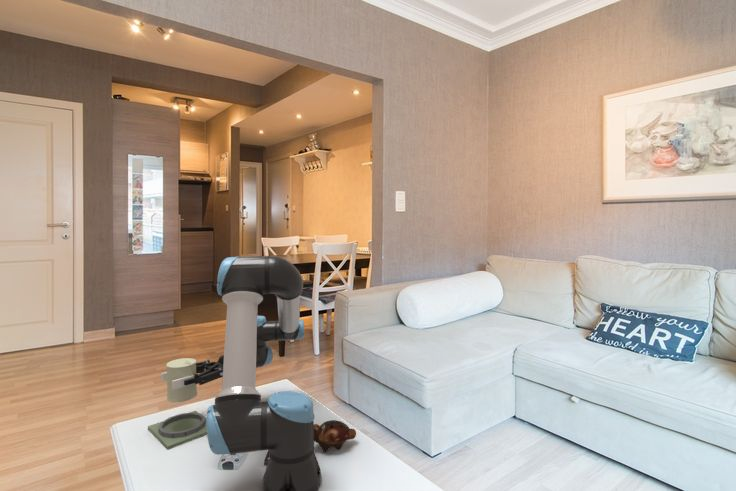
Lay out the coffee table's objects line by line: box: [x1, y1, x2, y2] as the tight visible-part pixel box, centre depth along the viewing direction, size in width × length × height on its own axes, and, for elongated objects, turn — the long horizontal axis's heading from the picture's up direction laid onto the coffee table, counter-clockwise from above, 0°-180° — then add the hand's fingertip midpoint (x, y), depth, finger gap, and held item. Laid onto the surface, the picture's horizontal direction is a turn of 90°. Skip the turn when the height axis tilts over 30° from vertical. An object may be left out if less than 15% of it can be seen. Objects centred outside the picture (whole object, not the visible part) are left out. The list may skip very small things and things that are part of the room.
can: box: [165, 357, 198, 403], centre depth 134 cm, size 9×9×12 cm
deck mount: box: [147, 410, 207, 450], centre depth 134 cm, size 18×16×2 cm
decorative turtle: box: [314, 419, 357, 453], centre depth 124 cm, size 10×15×8 cm, turn 115°
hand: (167, 381), depth 131 cm, fingers closed on can, 9 cm apart
